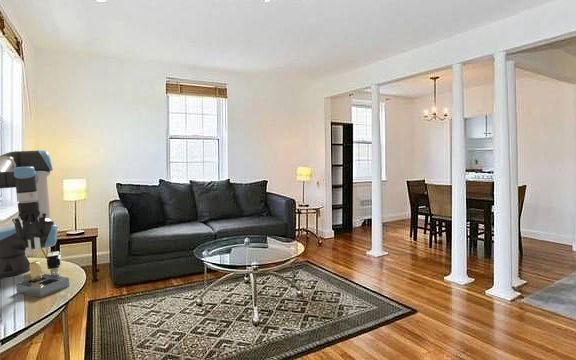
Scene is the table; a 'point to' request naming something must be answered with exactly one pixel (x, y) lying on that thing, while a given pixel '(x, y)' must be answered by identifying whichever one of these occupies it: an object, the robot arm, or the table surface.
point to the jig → (42, 285)
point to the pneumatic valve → (54, 262)
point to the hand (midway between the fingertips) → (33, 252)
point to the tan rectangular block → (35, 271)
